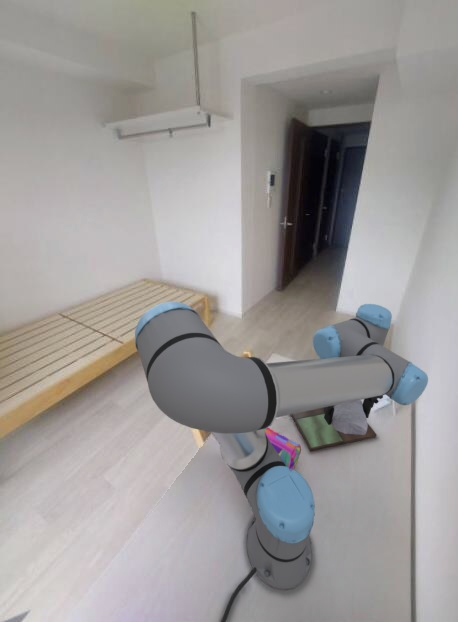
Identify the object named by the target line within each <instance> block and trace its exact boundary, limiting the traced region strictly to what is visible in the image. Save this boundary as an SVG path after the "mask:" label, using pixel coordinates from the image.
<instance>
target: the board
mask: <svg viewBox="0 0 458 622" xmlns="http://www.w3.org/2000/svg"><path fill="white" fill-rule="evenodd" d="M323 410H324V408H319V409H314V410H310V411H305V412H300V413H296V414H291V415H290V416H291V417H292V420H293V421H294V423H295V425H296V427H297V430H298V432H299V433H300V435H301V437H302V439H303V441H304V443H305V444H306V447H307V449H308V451H309V452H310V453H311V452H317V451H321V450H326V449H331V448H335V447H339V446H344V445H348V444H353V443H357V442H362V441H366V440H371V439H375V438H377V435H378V434H377V433H376V432H375V430H374V429H373V428H372V427H371V426H370V424H369V423H368V422H367V424H368V427H367V431H366V434H365V435H360V434H359V435H358V434H344V433H342V432H340V431H337V430H335V428H334V427H333V425H332V423H331V425H328V424H327V422H326V420H325V419H324V415H325V413H324V411H323Z"/></svg>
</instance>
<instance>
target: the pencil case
mask: <svg viewBox="0 0 458 622" xmlns="http://www.w3.org/2000/svg"><path fill="white" fill-rule="evenodd" d="M263 430H264V432H265V433H266V435H267V437H268V439H269V441H270V442H271V444H272V445H273V447H274V448H275V450H276V451H277V453H278V454H279V456H280V457H281V459H282V460H283V462H284V463H285V465H286V466H287V467H289V469H291V470H293V469H294V467H295V466H296V465H297V463H298V461H299V459H300V455H301V452H302V446H301V444H299V443H298V442H296V441H293V440H291V439H290V438H288V437H286V436H284V435H282V434H280V433H278V432H276V431H274V430H273V429H272V428H270V427H268V428H265V429H263Z"/></svg>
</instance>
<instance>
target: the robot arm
mask: <svg viewBox="0 0 458 622" xmlns="http://www.w3.org/2000/svg"><path fill="white" fill-rule="evenodd" d="M392 318H393V314H392V312H391V310H389V309H388V308H386V307H384V306H382V305H379V304H374V303H365V304H361V305H360V306H359V307H358V308H357V311H356V313H355V317H352V318H350V319H347V320H344V321H341V322H337V323H334V324H329V325H327V326H324V327H322V328H321V329H318V330H316V331H315V332H314V334H313V338H312V346H313V349H314V351H315V353H316V355H317V356H318V358H313V359H301V360H289V361H277V362H265V361H264V360H263V359H262V358H260V357H257V356H248V357H247V356H243V357H242V356H238V355H235V354H233V353H231V352H229V351H227V350H226V349H225V348H224V347H223V346H222V344H221V343H220V342H219V341H218V339H217V337H215V336H214V334H213V333H212V331H211V330H210V329H209V327H208V326H207V325H206V324H205V322H204V320H203V319H202V318H201V316H200V314H199V313H198V312H197V311H196V310H195V309H193V308H192V307H191V306H190V305H188V304H186V303H183V302H179V301H165V302H162V303H159V304H157V305H154V306H152V307H151V308H149V309H148V310H147V311H145V312H144V313H143V315H142V316H141V317H140V318H139V320H138V321H137V324H136V326H135V330H134V345H135V349H136V351H137V352H138V355H139V359H140V361H141V365H142V369H143V372H144V375H145V378H146V382H147V387H148V392H149V394H150V397H151V399H152V401H153V402H154V404H155V405H156V406H157V408H158V409H159V410H160V411H161V412H162V413H163V414H164V415H165V416H167V418H169V419H170V420H172V421H174V422H176V423H178V424H180V425H181V426H185V427H188V428H191V429H194V430H199V431H203V432H206V433H210V434H211V435H212V436H213V437H214V439H215V440H216V441H217V443H218V444H219V451H220V455H221V458H222V459H223V461H224V462H225V463H226V465H227V466H228V467H229V469H230V470H231V471H232V472H233V474H234V476H235V478H236V480H237V482H238V484H239V486H240V488H241V490H242V492H243V494H244V496H245V498H246V500H247V502H248V504H249V506H250V508H251V511H252V513H253V515H254V518H253V519H252V521H251V523H250V525H249V528H248V531H247V537H246V549H247V550H246V551H247V556H248V559H249V563H250V565H251V567H252V570H250V572H249V574H248V575H246V577H245V578H244V579H243V580H242V581H241V583H240V584H238V586H237V587H236V588H235V590H234V591H233V593H232V595H231V597H230V600H229V601H228V603H227V606H226V609H225V611H224V614H223V616H222V619H221V621H220V622H227V619H228V617H229V614H230V611H231V609H232V607H233V606H232V605H233V603H234V602H235V600H236V598H237V596H238V594H239V593H240V591H241V590H242V589H243V588H244V587H245V585H246V584H247V583H248V582H249V581H250V580H251V579H252V577H253V576H254V575H255V574H256V576H257V577H258V578H259V579H260V581H262V582H263V583H264V584H266V585H267V586H268V587H270V588H272V589H275V590H279V591H289V590H293V589H296V588H297V587H299V586H300V585H301V584H302V583H303V582H304V581H305V580H306V579H307V576H308V574H309V572H310V570H311V567H312V566H311V565H312V561H313V549H312V548H313V547H312V545H313V544H312V540H311V536H310V535H311V531H312V529H313V526H314V523H315V515H316V513H315V511H316V510H315V508H316V507H315V505H316V504H315V497H314V493H313V491H312V489H311V486H310V484H309V483H308V481H307V480H306V478H305V477H304V476H303V475H302V474H301V473H299V472H298V471H297V470H296V469H294V468H293V470H291V469H289V467H287V466H286V465H285V463H284V462H283V460H282V459H281V457H280V456H279V454H278V453H277V451H276V450H275V448H274V447H273V445H272V444H271V442H270V441H269V439H268V437H267V435H266V433H265V432H264V430H263V429H265V428H270V427H271V425H273V424H274V422H275V420H276V418H281V417H286V416H291V414H296V413H300V412H305V411H310V410H314V409H319V408H324V410H323V411H324V413H325V415H324V419H325V420H326V422H327V424H328V425H331V422H332V417H333V413H334V407H333V406H334V405H338V404H343V403H347V402H352V401H357V400H361V401H362V400H363V401H362V407H363V411H364V413H365V415H366V419H368V418H369V416H370V414H371V410H372V409H373V407H374V405H377V404H379V402H380V401H379V400H382V399H383V398H384V396H386V397H388V398H389V399H390V400H392V401H394V402H396V403H397V404H399V405H401V406H409V405H411V404H413V403H414V402H416V401H417V400H418V399H419V398H420V396H422V394H423V393H424V391H425V390H426V388H427V386H428V382H429V377H428V374H427V373H426V372H425V371H424V370H423V369H421V368H420V367H418V366H417V365H415V364H414V363H413V362H412V361H409V360H407V359H406V358H404V357H403V356H401V355H398V354H397V353H395V352H393V351H392V350H390V349H389V348H386V347H385V346H384V345H385V342H386V338H387V337H388V333H389V330H390V329H391V323H392ZM378 399H379V400H378Z"/></svg>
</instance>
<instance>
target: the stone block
mask: <svg viewBox="0 0 458 622" xmlns="http://www.w3.org/2000/svg"><path fill="white" fill-rule="evenodd" d="M362 404H363V401H362V399H361V400H357V401H352V402H347V403H343V404H338V405H334V406H333V407H334V413H333V417H332V422H331V423H332V425H333V427H334V428H335V430H337V431H340V432H342V433H344V434H358V435H359V434H360V435H365V434H366V431H367V427H368V424H369V423H368V418H366V415H365V413H364V411H363V407H362ZM367 423H368V424H367Z"/></svg>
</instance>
